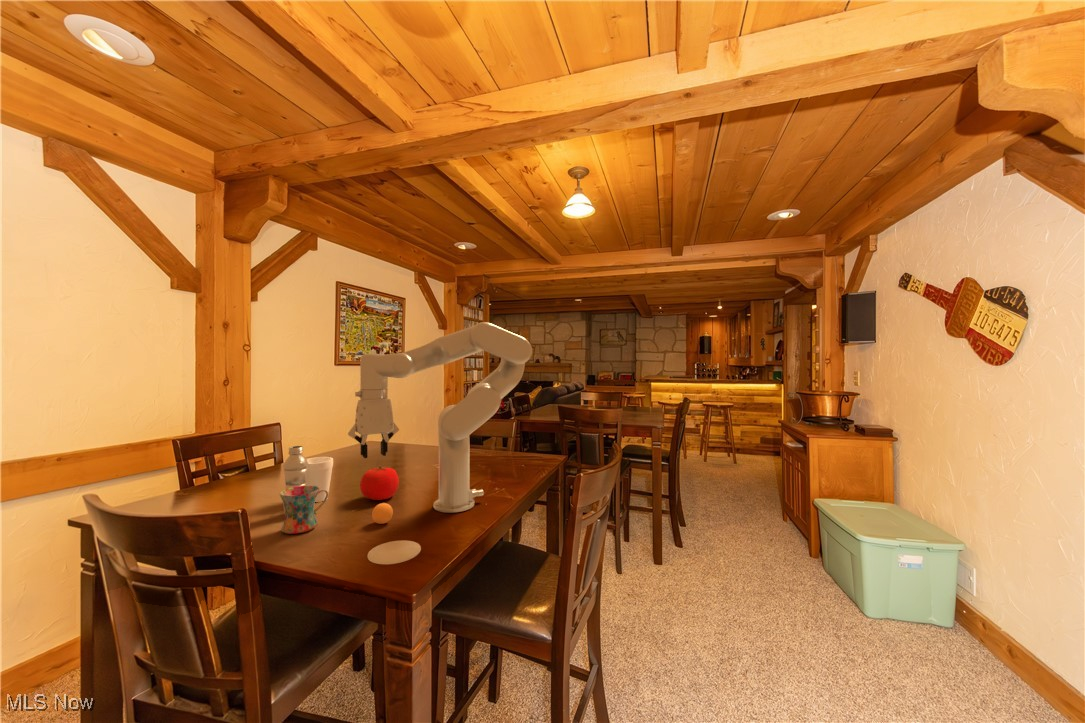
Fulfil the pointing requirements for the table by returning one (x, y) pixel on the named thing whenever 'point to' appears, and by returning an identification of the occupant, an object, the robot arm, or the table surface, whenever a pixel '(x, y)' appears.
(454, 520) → the table surface
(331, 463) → the foam cup
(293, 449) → the plastic bottle
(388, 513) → the ball
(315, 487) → the mug
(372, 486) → the tomato
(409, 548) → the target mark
